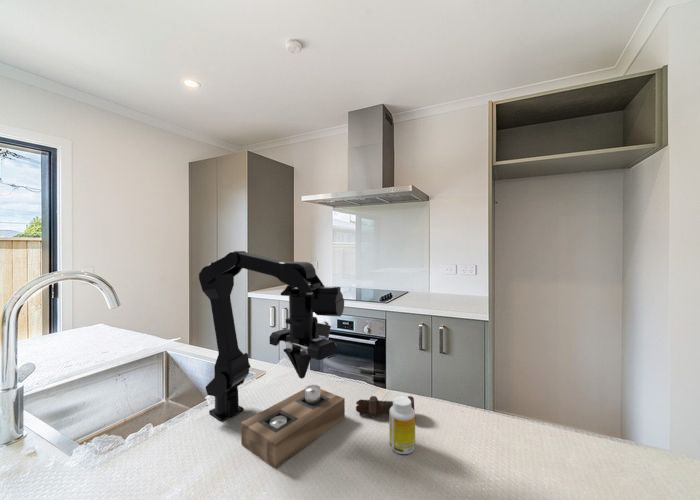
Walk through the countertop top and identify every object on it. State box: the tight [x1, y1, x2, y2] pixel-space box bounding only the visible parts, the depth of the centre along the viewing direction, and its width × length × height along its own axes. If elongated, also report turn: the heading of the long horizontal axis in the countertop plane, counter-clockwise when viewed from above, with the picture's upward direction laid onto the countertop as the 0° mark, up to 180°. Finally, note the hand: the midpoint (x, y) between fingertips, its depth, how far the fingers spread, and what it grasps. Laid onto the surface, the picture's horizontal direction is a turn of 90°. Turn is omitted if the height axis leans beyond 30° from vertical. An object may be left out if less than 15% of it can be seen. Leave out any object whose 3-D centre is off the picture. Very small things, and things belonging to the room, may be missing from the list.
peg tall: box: [270, 416, 287, 429], centre depth 66 cm, size 4×4×5 cm
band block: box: [240, 388, 346, 470], centre depth 71 cm, size 12×22×5 cm, turn 142°
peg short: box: [304, 384, 321, 406], centre depth 75 cm, size 4×4×5 cm
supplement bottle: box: [388, 395, 416, 455], centre depth 64 cm, size 6×6×10 cm
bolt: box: [355, 395, 415, 418], centre depth 77 cm, size 6×5×15 cm
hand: (302, 377), depth 71 cm, fingers closed
